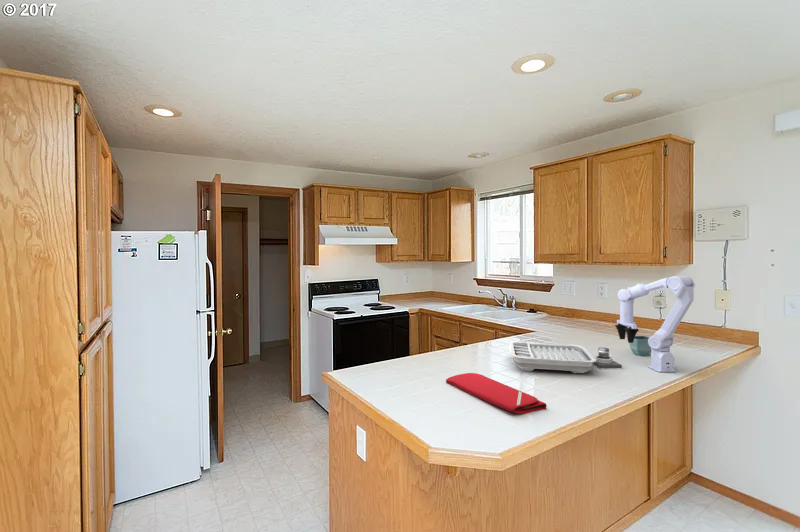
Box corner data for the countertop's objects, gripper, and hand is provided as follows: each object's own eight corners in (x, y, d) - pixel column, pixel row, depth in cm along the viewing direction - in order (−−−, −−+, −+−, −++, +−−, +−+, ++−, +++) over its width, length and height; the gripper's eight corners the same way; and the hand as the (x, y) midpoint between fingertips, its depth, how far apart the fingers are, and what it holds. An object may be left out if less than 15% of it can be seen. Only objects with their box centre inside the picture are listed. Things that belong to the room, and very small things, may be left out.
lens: (611, 361, 196) (611, 349, 196) (602, 362, 195) (602, 349, 195) (604, 359, 200) (604, 346, 200) (596, 360, 200) (596, 347, 199)
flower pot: (654, 356, 211) (654, 339, 211) (636, 356, 211) (637, 339, 211) (644, 352, 220) (644, 335, 219) (627, 352, 220) (627, 335, 220)
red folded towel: (475, 378, 181) (475, 369, 180) (547, 409, 144) (547, 399, 144) (445, 383, 174) (445, 374, 173) (512, 418, 137) (512, 407, 137)
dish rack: (599, 378, 177) (599, 360, 177) (510, 373, 185) (510, 356, 185) (584, 359, 208) (584, 343, 207) (508, 356, 216) (508, 341, 216)
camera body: (621, 368, 191) (621, 360, 190) (599, 368, 191) (599, 360, 191) (606, 360, 205) (606, 353, 204) (586, 360, 205) (586, 353, 205)
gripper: (643, 315, 195) (643, 344, 196) (626, 311, 210) (626, 337, 210) (628, 315, 195) (628, 344, 196) (612, 311, 210) (612, 337, 210)
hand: (626, 340), depth 203 cm, fingers open, 7 cm apart
